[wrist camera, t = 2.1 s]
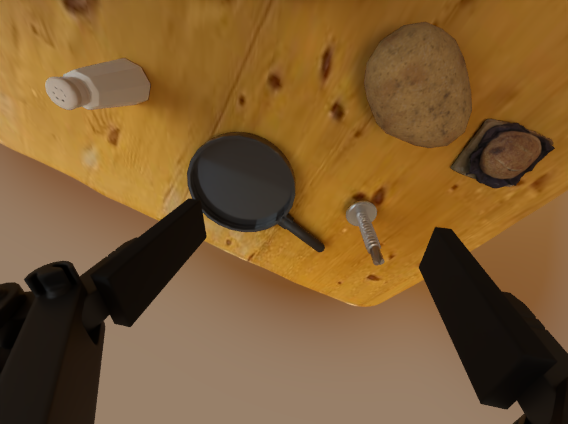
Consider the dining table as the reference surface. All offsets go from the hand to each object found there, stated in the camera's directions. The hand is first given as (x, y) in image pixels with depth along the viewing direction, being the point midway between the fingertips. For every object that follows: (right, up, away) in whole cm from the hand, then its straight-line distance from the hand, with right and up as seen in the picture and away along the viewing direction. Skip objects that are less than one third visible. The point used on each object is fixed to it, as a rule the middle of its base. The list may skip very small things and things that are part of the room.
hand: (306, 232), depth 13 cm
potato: (+14, +17, +16) cm, 27 cm away
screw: (+11, +2, +26) cm, 29 cm away
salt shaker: (-22, +19, +18) cm, 33 cm away
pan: (-8, +6, +25) cm, 27 cm away
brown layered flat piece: (+29, +9, +20) cm, 36 cm away
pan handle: (+2, -2, +29) cm, 29 cm away
